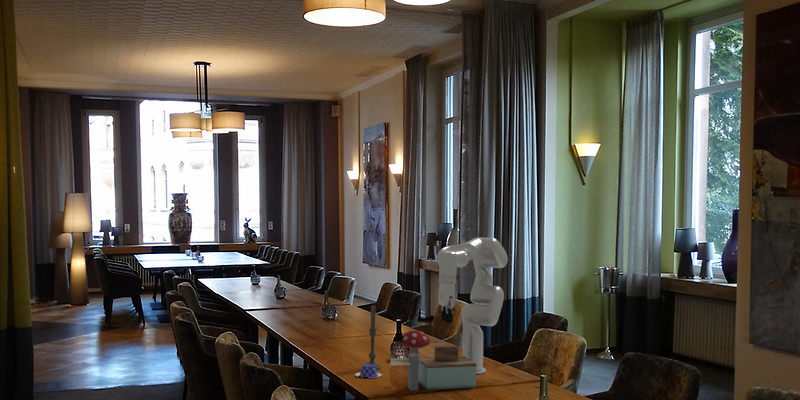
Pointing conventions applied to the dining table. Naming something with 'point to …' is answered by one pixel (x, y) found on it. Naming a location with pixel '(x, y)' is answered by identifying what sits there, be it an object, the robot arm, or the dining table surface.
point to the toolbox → (439, 376)
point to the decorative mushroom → (415, 340)
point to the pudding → (368, 371)
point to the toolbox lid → (446, 358)
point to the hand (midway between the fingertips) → (446, 321)
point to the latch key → (400, 361)
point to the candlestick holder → (372, 334)
